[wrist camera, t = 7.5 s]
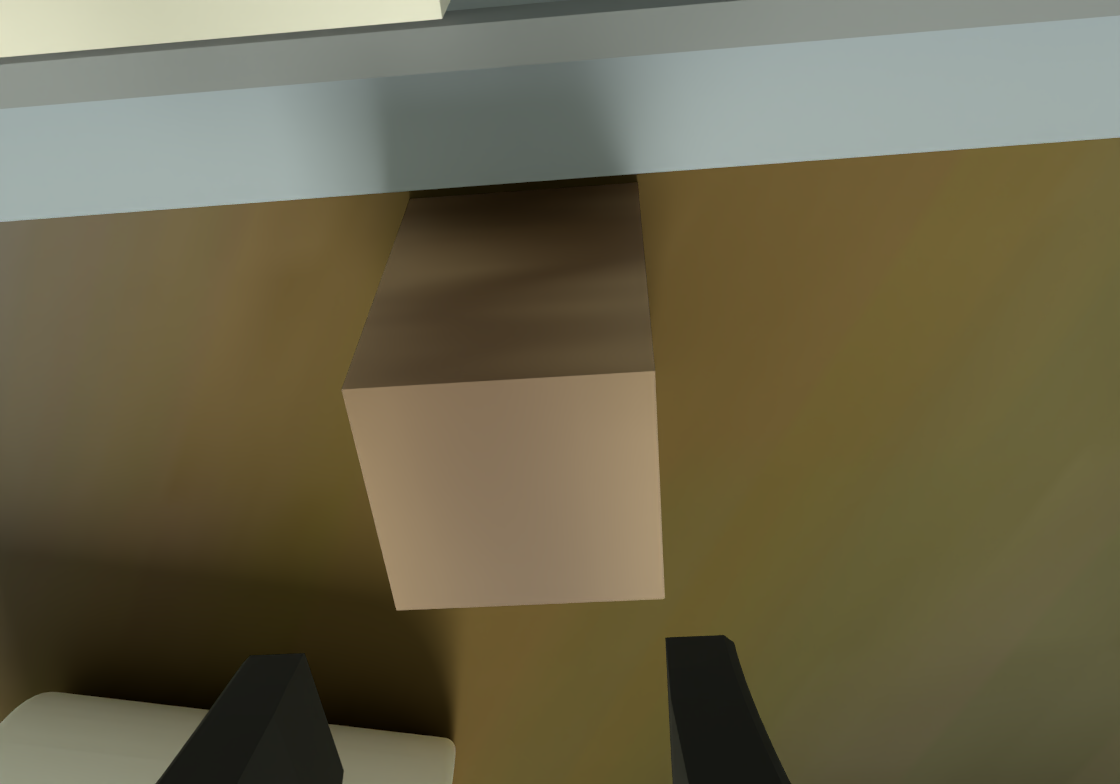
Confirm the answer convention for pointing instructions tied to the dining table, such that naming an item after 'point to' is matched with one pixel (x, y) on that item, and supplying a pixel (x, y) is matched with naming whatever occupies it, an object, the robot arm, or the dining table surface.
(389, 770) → the mug
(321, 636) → the dining table surface
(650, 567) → the brown wooden block
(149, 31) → the cover
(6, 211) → the puzzle board
